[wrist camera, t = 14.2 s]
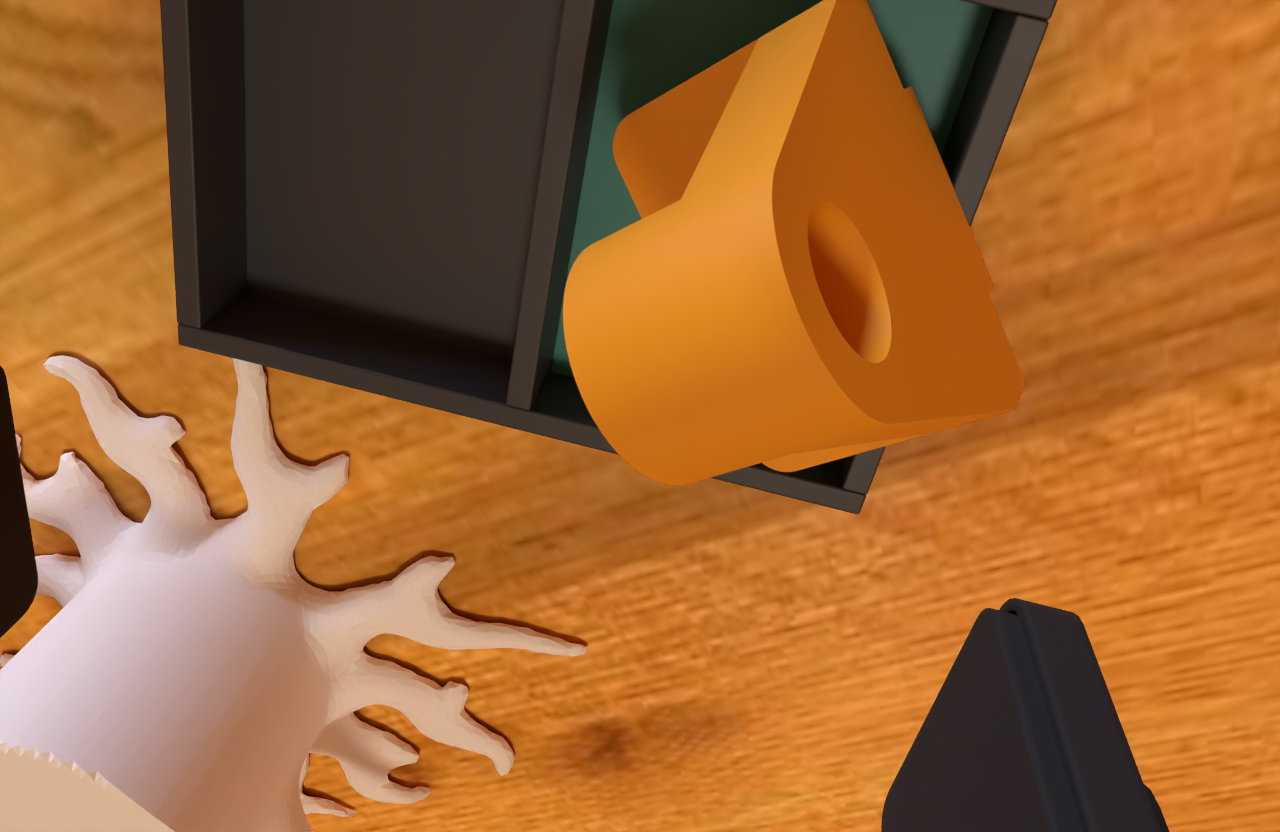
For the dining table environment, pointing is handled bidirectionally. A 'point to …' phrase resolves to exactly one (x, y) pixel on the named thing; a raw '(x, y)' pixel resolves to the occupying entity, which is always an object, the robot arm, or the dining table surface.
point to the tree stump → (213, 646)
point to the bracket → (785, 268)
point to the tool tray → (481, 178)
